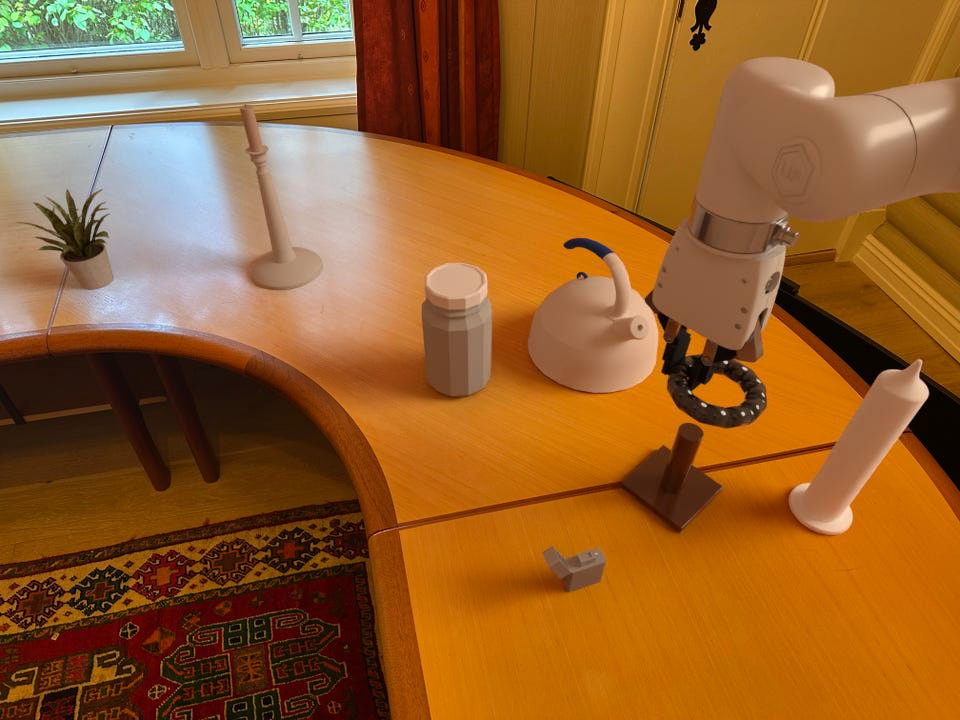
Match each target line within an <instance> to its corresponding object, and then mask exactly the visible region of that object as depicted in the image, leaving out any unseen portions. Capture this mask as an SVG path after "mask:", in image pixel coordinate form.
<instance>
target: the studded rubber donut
mask: <svg viewBox="0 0 960 720" xmlns="http://www.w3.org/2000/svg"><path fill="white" fill-rule="evenodd" d="M701 355H702V353H697V354H691V355H686V356H685V357H684V358H683V359H681V360H680V361H679V362H677V363H676V364H675V365H674V366H672V367H671V368H670V370H669V373H668V375H667V382H666V391H667V393H668V395H669V396H670V398H671V399H672V401H673V402H674V403H673V404H674V405H675V407H676V408H677V409H678V410H680V411H681V412H682V413H684V414H686V415H687V416H689V417H690V418H691V419H693V420H694V421H696V422H698V423H700V424H703V425H708V426H712V427H717V428H720V429H724V430H725V429H727V430H728V429H733V428H739V427H745V426H749V425H752V424H753V423H755V421H756V420H758V418H759V417H761V415H762V414H764V412H765V411H766V410H767V406H768V399H767V398H768V397H767V387H766V385H765V383H764V382H763V380H761V379H760V377H759V376H758V375H757V374H756V372H755V371H754V370H753V369H752V368H750V367H749V366H747V365H745V364H743V363H742V362H741V361H739V360H737V359H732V360H728V361H723V362H718V363H717V366H716V369H715V371H714V374H715V375H719V376H723V377H725V378H727V379H729V380H730V381H732V382H734V383H736V384H737V385H738V386H739V388H740V389H741V391H742V392H743V393H744V400H743V401H742V402H741V403H740V404H739V405H731V406H727V407H726V406H721V405H715V404H712V403H708V402H706V401H705V400H703V399H702V398H700V397H699V396H697V395H695V394H694V393H693V391H691V389H690V388H689V386H688V379H689V376H690V373H691V370H692V367H693V364H694V362H695V360H696V359H698V358H699V357H700V356H701ZM714 374H713V375H714Z"/></svg>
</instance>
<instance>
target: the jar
mask: <svg viewBox="0 0 960 720" xmlns="http://www.w3.org/2000/svg"><path fill="white" fill-rule="evenodd" d="M424 295H425V300H424V301H423V302H422V303H421V323H422V325H421V326H422V336H423V350H424V362H425V376H426V381H427V382H428V383H429V385H430V386H431V387H432V389H434V390H435V391H436V392H438V393H440V394H443V395H445V396H448V397H451V398H462V397H463V398H465V397H469V396H471V395H473V394H475V393H477V392H480V391H481V390H483V389H484V388H485V386H487V383H488V382H489V380H490V379H491V377H492V341H493V339H492V338H493V334H492V333H493V329H492V328H493V309H492V302H491V301H490V299H488V277H487V274H486V273H485V271H483V270H482V269H481V268H479V267H478V266H477V265H473V264H469V263H466V262H446V263H443V264H440V265H438V266H436V267H432V269H430V270H429V272H427V273H426V275H425V276H424Z"/></svg>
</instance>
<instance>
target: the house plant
mask: <svg viewBox="0 0 960 720" xmlns="http://www.w3.org/2000/svg"><path fill="white" fill-rule="evenodd" d="M103 190H104V188H102V189H99V190H97V191H94V192H93V193H92V194H90V195H89V196H88V197H87V199H86V200H85V201H84V204H83V207H82V208H81V209H82V210H81V215H80V216H79V215H78V211H79V208H77V207H76V202H75V200H74V199H73V196H72V195H71V192H70V190H69V189H68V188H67V189H66V191H65V199H66V205H67V209H68V213H67V212H66V211H65V209H64V208H63V207H62V206H61V205H60V204H59V203H58V202H56V201H55V200H53V199H52V198H50V197H48V196H45V199H47V200H48V201H49V202H48V201H47V203H49V204H50V205H52V206H53V208H52V209H49V208H48V207H47V206H46V207H45V206H44V205H42V204H41V203H38V202H34V201H32V202H33V205H35V207H36V208H37V209H39V211H40V212H41V213H42V214H43V215H44V216H45V217H46V218H47V219H48V221H49V222H50V223H51V226H52V228H53V229H54V231H53V230H52V229H48V228H46V227H43V226H41V225H38V224H35V223H31V222H25V221H18V222H16V224H23V225H26V226H32V227H35V228H37V229H40V230H42V231H45V232H47V233H49V234H50V235H52V236H53V237H56V238H57V239H60V240H61V241H63V242H61V241H59V240H57V239H56V240H55V239H52V238H48V237H43V236H35V239H38V240H41V241H43V242H44V243H47V244H48V245H43V246H41V247H40V248H38V249H37V251H57V252H61V253H60V255H59V256H60V257H59V258H60V260H61V262H62V263H63V264H64V265H65V266H66V268H67V269H68V270H69V271H70V273H71V274H72V275H73V277H74V278H75V279H76V280H77V281H78V283H79V284H80V286H82V288H84V289H86V290H97V289H101V288H104V287H107V286H109V285H110V284H112V282H114V279H115V277H114V273H113V270H112V266H111V262H110V258H109V255H108V251H107V247H106V244H107V245H108V243H107V242H106V240H105V239H103V238H107V239H110V238H109V232H107V231H105V230H102V231H100V232H98V231H99V228H100V226H101V224H102V223H103V222H104V219H105V218H106V217H107V216H109V215H110V214H111V213H110V212H109V213H107V214H105V215H103V216H101V217H100V218H99V219H95V216H96V214H97V213H98V212H100V211H105V210H106V211H107V210H109V208H106V207H102V208H101V206H102V205H104V204H106V203H107V202H108V201H103V202H101V203H99V204H97V205H96V206H95V208H94V209H93V210H92V212H91V214H90V215H89V216H90V217H89V218H88V221H87V224H86V220H87V219H86V218H87V213H88V211H89V208H90V205H91V204H92V201H93V200H94V198H95V197H96V196H97V195H98V194H99V193H101V192H102V191H103ZM55 209H57V211H58V212H59V214H61V216H62V217H63V219H64V221H65V223H64V221H62V219H61V218H60V217H59V216H58V215H57V214H56V213H55V212H56V211H55ZM94 225H95V226H94ZM93 226H94V229H93ZM92 229H93V230H92ZM92 231H93V233H92ZM96 238H97V239H96Z"/></svg>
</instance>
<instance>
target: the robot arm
mask: <svg viewBox="0 0 960 720" xmlns="http://www.w3.org/2000/svg"><path fill="white" fill-rule="evenodd" d="M835 93H836V85H835V81H834V78H833V77H832V75H831V74H830V73H829V72H828V71H827V70H826V69H824V68H823V67H821V66H819V65H816V64H814V63H812V62H809V61H805V60H802V59H797V58H791V57H783V56H780V57H779V56H763V57H762V56H761V57H756V58H751V59H747V60H744V61H742V62H741V63H739V64H738V65H736V66H734V68H733V69H732V70H731V71H730V73H729V74H728V76H727V78H726V80H725V82H724V86H723V88H722V92H721V96H720V100H719V103H718V107H717V111H716V115H715V118H714V121H713V126H712V128H711V133H710V138H709V141H708V145H707V148H706V152H705V156H704V159H703V163H702V167H701V171H700V174H699V178H698V181H697V184H696V189H695V193H694V196H693V198H692V203H691V205H690V206H691V207H690V210H689V214H688V215H687V216H685V217H683V219H682V220H681V221H680V223H679V225H678V227H677V229H676V230H675V232H674V234H673V236H672V239H671V240H670V242H669V244H668V247H667V249H666V251H665V254H664V256H663V259H662V261H661V265H660V267H659V270H658V273H657V275H656V279H655V282H654V287H653V289H651V290H650V292H649V293H648V294H647V295H646V296H645V297H644V301H645V303H646V304H647V305H648V306H649V307H650V309H651V310H652V312H653V314H654V315H656V317H657V320H658V322H659V324H660V326H661V328H662V330H663V332H664V333H663V334H662V338H663V341H664V342H666V343H665V347H664V350H663V353H662V357H661V360H662V361H663V364H662V367H661V371H660V373H661V374H663V375H664V376H668V373H669V370H670V368H671V367H672V366H674V365H675V364H676V363H677V362H679V361H680V360H681V359H683V358H684V357H686V356H687V352H688V351H689V350H688V349H689V346H690V344H691V341H692V337H691V336H692V334H691V333H689V332H688V331H689V330H691V331H692V332H695V333H696V334H697V335H699V336H701V337H703V338H705V344H704V346H703V351H702V353H701V354H702V355H701V356H700V357H699V358H698V359H696V360H695V362H694V364H693V367H692V370H691V373H690V376H689V379H688V386H689V388H690V389H691V391H692V392H693V391H694V390H695V389H696V388H698V387H699V386H701V385H703V386H706V385H708V383H709V382H710V381H711V380H712V378H713V376H714V371H715V369H716V366H717V363H718V362H723V361H728V360H732V359H735V360H736V361H738V362H747V363H756V362H757V361H758V360H759V359H761V358H762V357H763V356H764V346H763V337H762V332H763V331H764V330H765V328H766V326H767V325H768V321H769V319H770V316H771V314H772V310H773V307H774V305H775V302H776V298H777V295H778V291H779V288H780V284H781V280H782V275H783V271H784V266H785V260H786V254H787V253H786V252H787V247H788V248H793V247H794V246H795V245H796V243H797V242H798V240H799V238H800V236H801V232H799V231H797V230H795V229H793V227H792V226H790V219H791V216H792V217H793V218H796V220H800V221H803V222H807V223H816V224H819V223H829V222H835V221H839V220H842V219H845V218H850V217H852V216H855V215H859V214H862V213H865V212H868V211H869V212H870V211H872V210H875V209H878V208H882V207H884V206H888V205H891V204H895V203H898V202H902V201H906V200H909V199H912V198H913V199H914V198H916V197H920V196H921V197H922V196H924V195H931V194H950V193H952V194H953V193H957V194H960V77H952V78H945V79H939V80H938V79H936V80H931V81H923V82H918V83H912V84H907V85H901V86H896V87H890V88H886V89H881V90H876V91H871V92H866V93H861V94H856V95H844V96H835Z"/></svg>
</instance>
